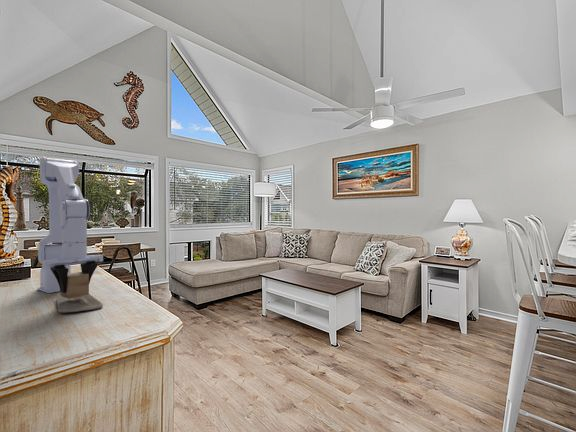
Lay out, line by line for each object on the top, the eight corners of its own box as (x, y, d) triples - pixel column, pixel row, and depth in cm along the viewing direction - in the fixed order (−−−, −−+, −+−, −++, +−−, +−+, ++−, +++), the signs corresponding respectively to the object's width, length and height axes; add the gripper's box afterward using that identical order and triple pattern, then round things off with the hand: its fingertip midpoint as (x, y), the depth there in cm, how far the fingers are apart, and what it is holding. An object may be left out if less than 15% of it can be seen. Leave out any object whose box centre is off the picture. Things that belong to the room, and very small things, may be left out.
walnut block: (60, 295, 85) (60, 274, 85) (80, 292, 89) (80, 271, 89) (68, 298, 82) (68, 276, 82) (88, 294, 86) (88, 273, 86)
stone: (104, 306, 83) (59, 309, 76) (103, 316, 83) (58, 320, 76) (91, 288, 97) (51, 290, 90) (89, 297, 96) (50, 300, 90)
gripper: (50, 245, 77) (50, 298, 77) (108, 241, 90) (108, 286, 90) (38, 243, 81) (38, 294, 81) (96, 239, 93) (96, 283, 93)
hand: (74, 289), depth 86 cm, fingers closed on walnut block, 5 cm apart
